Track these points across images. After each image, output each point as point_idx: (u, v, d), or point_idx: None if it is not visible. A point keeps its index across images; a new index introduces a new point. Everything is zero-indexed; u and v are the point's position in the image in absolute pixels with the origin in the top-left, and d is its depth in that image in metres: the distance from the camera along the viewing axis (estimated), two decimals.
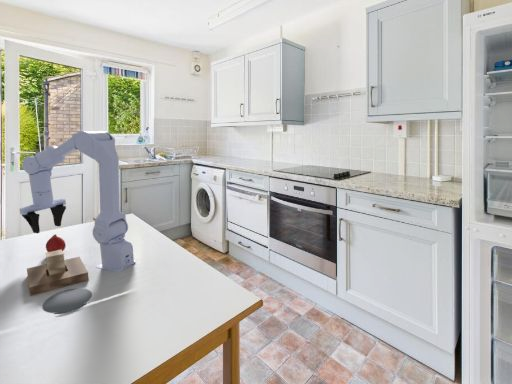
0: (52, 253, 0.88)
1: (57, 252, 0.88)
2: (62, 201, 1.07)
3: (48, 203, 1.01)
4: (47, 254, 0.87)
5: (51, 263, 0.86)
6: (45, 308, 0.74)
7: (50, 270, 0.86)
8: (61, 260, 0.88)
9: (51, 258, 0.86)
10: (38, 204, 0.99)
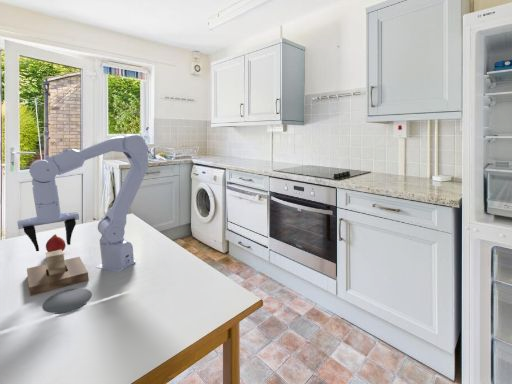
0: (52, 253, 0.88)
1: (57, 252, 0.88)
2: (73, 215, 0.89)
3: (48, 218, 0.83)
4: (47, 254, 0.87)
5: (51, 263, 0.86)
6: (45, 308, 0.74)
7: (50, 270, 0.86)
8: (61, 260, 0.88)
9: (51, 258, 0.86)
10: (38, 218, 0.83)
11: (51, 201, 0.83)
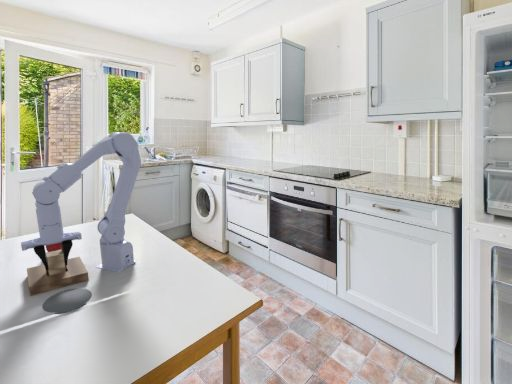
0: (52, 253, 0.88)
1: (57, 252, 0.88)
2: (76, 235, 0.90)
3: (51, 239, 0.84)
4: (47, 254, 0.87)
5: (51, 263, 0.86)
6: (45, 308, 0.74)
7: (50, 270, 0.86)
8: (61, 260, 0.88)
9: (51, 258, 0.86)
10: (41, 239, 0.84)
11: (54, 222, 0.84)
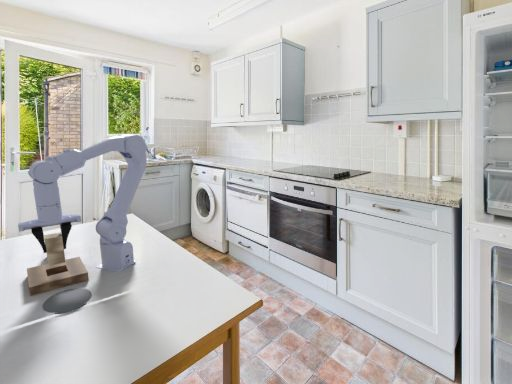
0: (51, 236, 0.84)
1: (56, 235, 0.85)
2: (75, 218, 0.87)
3: (49, 220, 0.81)
4: (45, 236, 0.84)
5: (49, 246, 0.83)
6: (45, 308, 0.74)
7: (48, 253, 0.83)
8: (59, 243, 0.84)
9: (49, 240, 0.83)
10: (39, 220, 0.81)
11: (54, 203, 0.82)
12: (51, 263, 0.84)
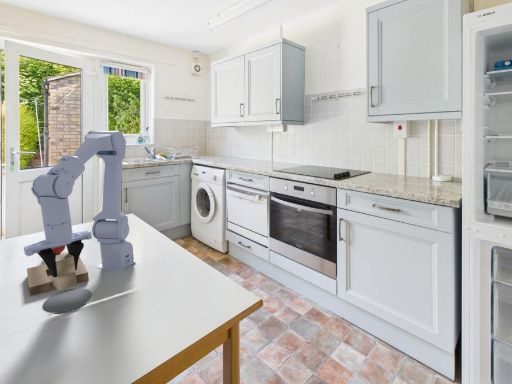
0: (59, 257, 0.76)
1: (64, 255, 0.77)
2: (86, 235, 0.79)
3: (62, 240, 0.73)
4: None
5: (60, 268, 0.74)
6: (45, 308, 0.74)
7: (59, 276, 0.74)
8: (71, 264, 0.76)
9: (60, 262, 0.74)
10: (49, 241, 0.72)
11: (69, 219, 0.74)
12: (62, 287, 0.75)
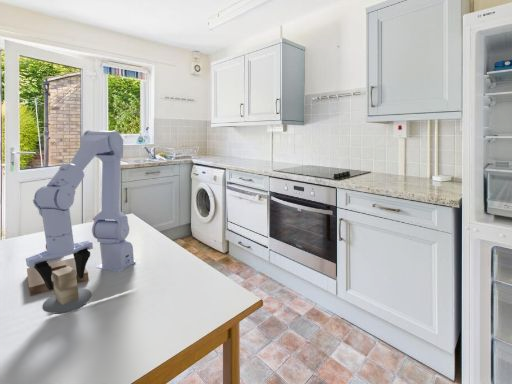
0: (61, 271, 0.77)
1: (66, 269, 0.78)
2: (87, 245, 0.80)
3: (64, 251, 0.73)
4: (56, 273, 0.76)
5: (62, 283, 0.75)
6: (45, 308, 0.74)
7: (62, 290, 0.75)
8: (73, 278, 0.77)
9: (63, 277, 0.75)
10: (51, 252, 0.73)
11: (71, 230, 0.75)
12: (64, 301, 0.76)
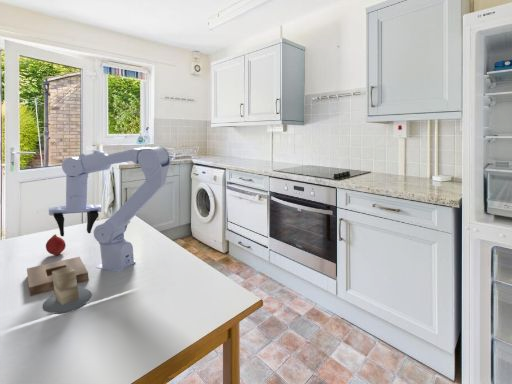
0: (61, 271, 0.77)
1: (66, 269, 0.78)
2: (97, 208, 0.99)
3: (77, 208, 0.94)
4: (55, 273, 0.76)
5: (62, 283, 0.75)
6: (45, 308, 0.74)
7: (61, 291, 0.75)
8: (72, 278, 0.77)
9: (62, 277, 0.75)
10: (67, 207, 0.93)
11: (73, 194, 0.92)
12: (64, 301, 0.76)
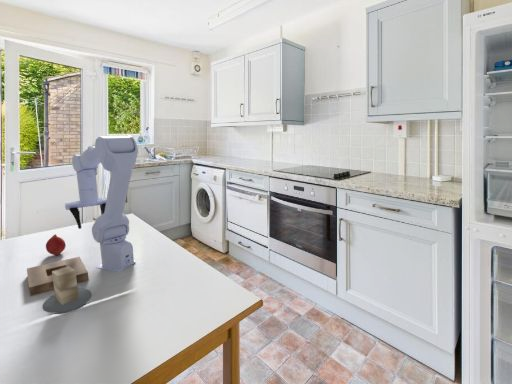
0: (61, 271, 0.77)
1: (66, 269, 0.78)
2: None
3: (89, 201, 1.02)
4: (55, 273, 0.76)
5: (62, 283, 0.75)
6: (45, 308, 0.74)
7: (61, 291, 0.75)
8: (73, 278, 0.77)
9: (62, 277, 0.75)
10: (81, 201, 1.02)
11: (80, 188, 1.01)
12: (64, 301, 0.76)
